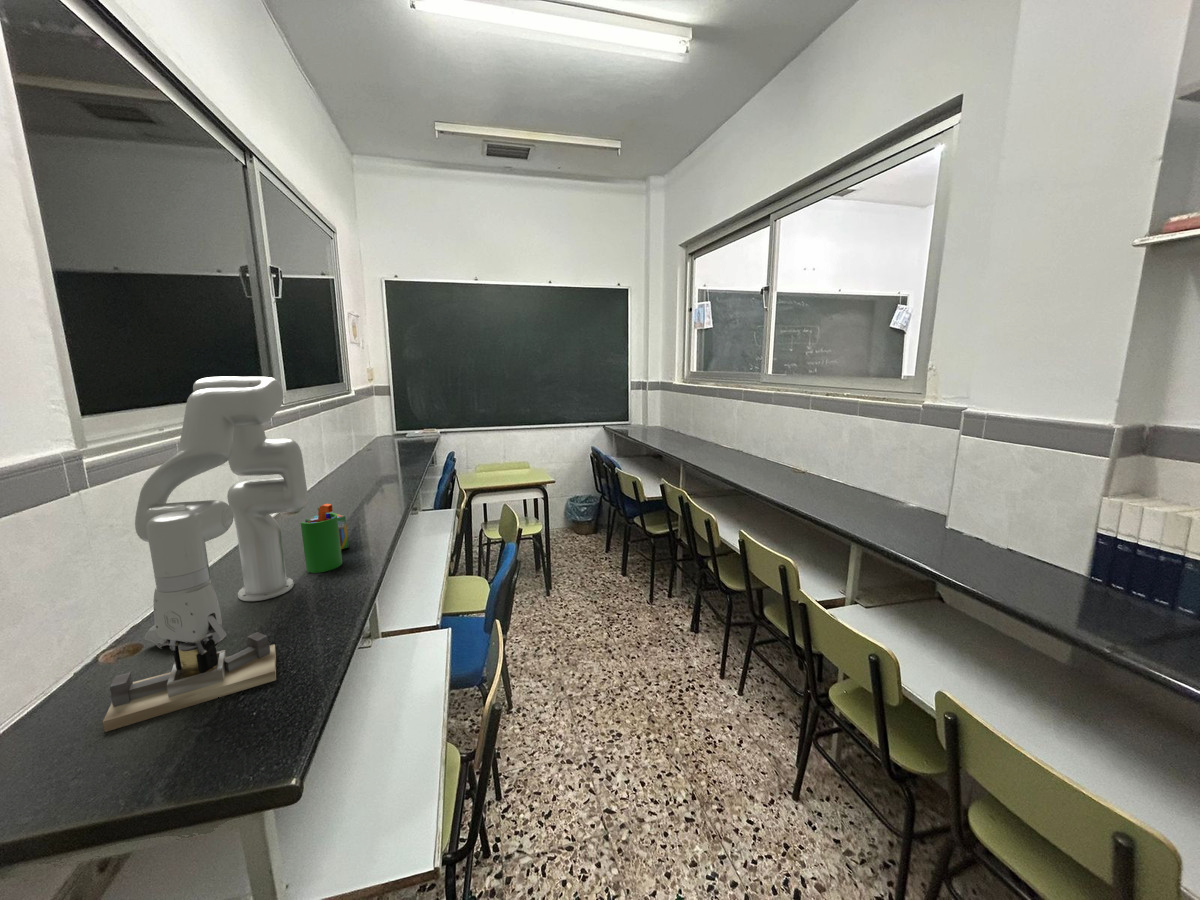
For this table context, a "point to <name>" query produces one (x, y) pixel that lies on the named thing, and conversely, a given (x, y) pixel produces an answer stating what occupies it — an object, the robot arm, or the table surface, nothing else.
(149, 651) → the table surface
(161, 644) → the skull
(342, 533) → the chalk box
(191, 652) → the gold cylinder
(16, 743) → the table surface
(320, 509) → the green cylindrical cup
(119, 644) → the table surface
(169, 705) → the stand
